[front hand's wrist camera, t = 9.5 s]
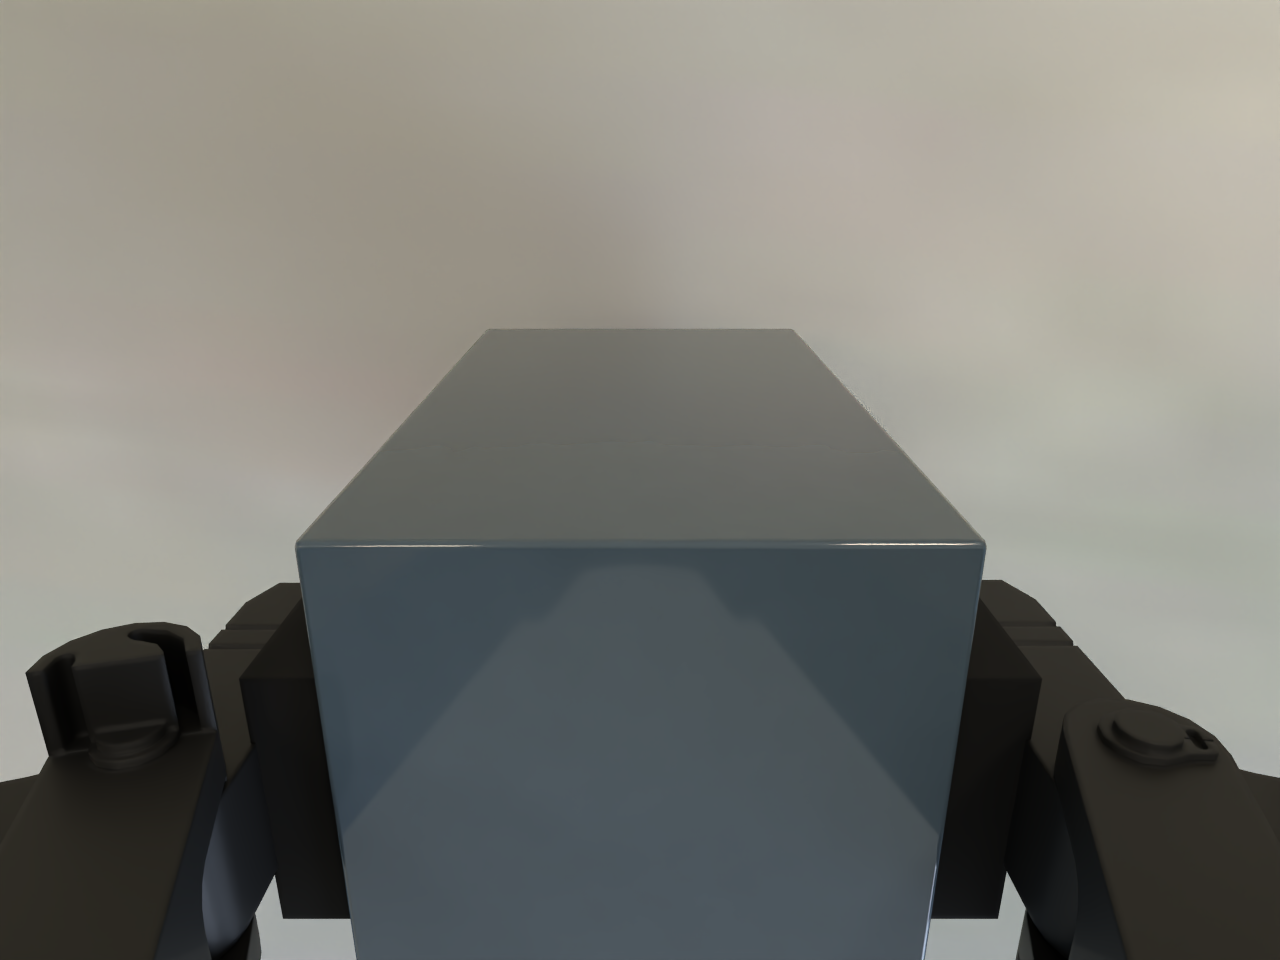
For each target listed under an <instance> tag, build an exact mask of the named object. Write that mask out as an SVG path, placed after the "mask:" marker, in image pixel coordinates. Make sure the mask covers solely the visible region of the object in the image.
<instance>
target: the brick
mask: <svg viewBox="0 0 1280 960" xmlns="http://www.w3.org/2000/svg"><path fill="white" fill-rule="evenodd" d="M986 547H987V546H986V543H985V540H984V539H983V538H982V537H981V536H980V535H979V534H978V533H977V531H976V530H975V529H974V528H973V527H972V526H971V525H970V524H969V523H968V522H967V520H966V519H965V518H964V517H963V516H962V515H961V514H960V513H959V512H958V510H957V509H956V508H955V507H954V506H953V505H952V504H951V503H950V502H949V501H948V499H947V498H946V497H945V496H944V495H943V494H942V493H941V492H940V491H939V490H938V488H937V487H936V486H935V485H934V484H933V483H932V482H931V481H930V480H929V479H928V477H927V476H926V475H925V474H924V473H923V472H922V471H921V470H920V469H919V468H918V466H917V465H916V464H915V463H914V462H913V461H912V460H911V459H910V458H909V457H908V455H907V454H906V453H905V452H904V451H903V450H902V449H901V448H900V447H899V446H898V444H897V443H896V442H895V441H894V440H893V439H892V438H891V437H890V436H889V434H888V433H887V432H886V431H885V430H884V429H883V428H882V427H881V426H880V425H879V423H878V422H877V421H876V420H875V419H874V418H873V417H872V416H871V415H870V414H869V412H868V411H867V410H866V409H865V408H864V407H863V406H862V405H861V404H860V403H859V401H858V400H857V399H856V398H855V397H854V396H853V395H852V394H851V393H850V392H849V390H848V389H847V388H846V387H845V386H844V385H843V384H842V383H841V382H840V381H839V379H838V378H837V377H836V376H835V375H834V374H833V373H832V372H831V371H830V370H829V368H828V367H827V366H826V365H825V364H824V363H823V362H822V361H821V360H820V358H819V357H818V356H817V355H816V354H815V353H814V352H813V351H812V350H811V349H810V347H809V346H808V345H807V344H806V343H805V342H804V341H803V340H802V339H801V338H800V336H799V335H798V334H797V333H796V332H795V331H794V330H792V329H488V330H487V331H486V332H485V333H484V334H483V335H482V336H481V337H480V338H479V339H478V341H477V342H476V343H475V344H474V345H473V346H472V347H471V348H470V349H469V350H468V352H467V353H466V354H465V355H464V356H463V357H462V358H461V359H460V360H459V362H458V363H457V364H456V365H455V366H454V367H453V368H452V369H451V370H450V371H449V373H448V374H447V375H446V376H445V377H444V378H443V379H442V380H441V381H440V383H439V384H438V385H437V386H436V387H435V388H434V389H433V390H432V391H431V393H430V394H429V395H428V396H427V397H426V398H425V399H424V400H423V401H422V402H421V404H420V405H419V406H418V407H417V408H416V409H415V410H414V411H413V412H412V414H411V415H410V416H409V417H408V418H407V419H406V420H405V421H404V422H403V423H402V425H401V426H400V427H399V428H398V429H397V430H396V431H395V432H394V433H393V435H392V436H391V437H390V438H389V439H388V440H387V441H386V442H385V443H384V444H383V446H382V447H381V448H380V449H379V450H378V451H377V452H376V453H375V454H374V456H373V457H372V458H371V459H370V460H369V461H368V462H367V463H366V464H365V466H364V467H363V468H362V469H361V470H360V471H359V472H358V473H357V474H356V475H355V477H354V478H353V479H352V480H351V481H350V482H349V483H348V484H347V485H346V487H345V488H344V489H343V490H342V491H341V492H340V493H339V494H338V495H337V496H336V498H335V499H334V500H333V501H332V502H331V503H330V504H329V505H328V506H327V508H326V509H325V510H324V511H323V512H322V513H321V514H320V515H319V516H318V518H317V519H316V520H315V521H314V522H313V523H312V524H311V525H310V526H309V527H308V529H307V530H306V531H305V532H304V533H303V534H302V535H301V536H300V537H299V539H298V540H297V541H296V544H295V552H296V558H297V565H298V572H299V578H300V585H301V592H302V598H303V605H304V612H305V618H306V625H307V632H308V638H309V645H310V652H311V658H312V665H313V672H314V678H315V685H316V692H317V698H318V705H319V712H320V718H321V725H322V732H323V738H324V745H325V752H326V758H327V765H328V772H329V778H330V785H331V792H332V798H333V805H334V812H335V818H336V825H337V832H338V838H339V845H340V852H341V858H342V865H343V872H344V878H345V885H346V892H347V898H348V905H349V912H350V918H351V925H352V932H353V938H354V945H355V952H356V958H357V960H925V953H926V947H927V940H928V933H929V927H930V920H931V913H932V907H933V900H934V893H935V887H936V880H937V873H938V867H939V860H940V854H941V847H942V840H943V834H944V827H945V820H946V814H947V807H948V800H949V794H950V787H951V780H952V774H953V767H954V760H955V754H956V747H957V741H958V734H959V727H960V721H961V714H962V707H963V701H964V694H965V687H966V681H967V674H968V667H969V661H970V654H971V648H972V641H973V634H974V628H975V621H976V614H977V608H978V601H979V594H980V588H981V581H982V574H983V568H984V561H985V554H986Z"/></svg>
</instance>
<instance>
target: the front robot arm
mask: <svg viewBox="0 0 1280 960" xmlns="http://www.w3.org/2000/svg"><path fill="white" fill-rule="evenodd" d="M26 677H27V680H28V684H29V687H30V691H31V694H32V698H33V701H34V705H35V709H36V712H37V716H38V719H39V723H40V726H41V730H42V733H43V737H44V740H45V744H46V748H47V751H48V755H49V757H48V759H47V761H46V762H45V764H44V766H43V768H42V770H41V772H40V773H39V774H37V775H33V776H30V777H25V778H20V779H15V780H10V781H4V782H0V960H260V959H261V945H260V937H259V930H258V925H257V920H256V915H255V912H256V910H257V908H258V906H259V904H260V902H261V900H262V898H263V896H264V894H265V892H266V890H267V889H268V887H269V885H270V883H271V881H272V879H273V877H274V875H275V877H276V883H277V888H278V894H279V899H280V904H281V910H282V915H283V919H351V918H350V912H349V905H348V898H347V892H346V885H345V878H344V872H343V865H342V858H341V852H340V845H339V838H338V832H337V825H336V818H335V812H334V805H333V798H332V792H331V785H330V778H329V772H328V765H327V758H326V752H325V745H324V738H323V732H322V725H321V718H320V712H319V705H318V698H317V692H316V685H315V678H314V672H313V665H312V658H311V652H310V645H309V638H308V632H307V625H306V618H305V612H304V605H303V598H302V592H301V585H300V583H279V584H277V585H275V586H274V587H272V588H270V589H268V590H267V591H265V592H263V593H261V594H260V595H258V596H256V597H254V598H253V599H251V600H249V601H248V602H246V603H245V604H244V605H243V606H242V607H241V609H240V610H239V611H238V612H237V613H236V614H235V615H234V616H233V618H232V619H231V620H230V621H229V622H228V623H227V624H226V629H225V630H221V631H220V632H219V633H218V634H217V636H216V637H215V638H214V639H213V640H212V641H211V642H210V643H209V648H208V649H204V650H203V648H202V643H201V638H200V636H199V635H198V634H197V633H195V632H194V631H193V630H191V629H190V628H189V627H187V626H182V625H177V624H172V623H167V622H152V623H133V624H128V625H123V626H118V627H113V628H108V629H103V630H100V631H97V632H94V633H91V634H89V635H86V636H83V637H80V638H77V639H75V640H72V641H69V642H68V643H66V644H64V645H62V646H60V647H58V648H57V649H55V650H53V651H51V652H49V653H48V654H46V655H44V656H43V657H41V658H40V659H39V660H38V661H37V662H36V663H35V664H34V665H33V666H32V667H31V668H30V669H29V670H28V671H27V672H26ZM1006 872H1008V874H1009V876H1010V878H1011V880H1012V882H1013V884H1014V886H1015V888H1016V890H1017V892H1018V894H1019V896H1020V898H1021V899H1022V901H1023V903H1024V905H1025V907H1026V910H1025V915H1024V920H1023V925H1022V930H1021V935H1020V940H1019V945H1018V950H1017V955H1016V960H1280V778H1277V777H1272V776H1267V775H1261V774H1256V773H1252V772H1248V771H1244V770H1240V769H1239V768H1238V766H1237V764H1236V763H1235V761H1234V759H1233V757H1232V755H1231V754H1230V753H1229V752H1228V751H1227V749H1226V748H1225V747H1224V746H1223V745H1222V744H1221V743H1220V741H1219V740H1218V739H1217V738H1216V737H1215V736H1214V735H1212V734H1211V733H1209V732H1208V731H1206V730H1205V729H1203V728H1202V727H1200V726H1199V725H1197V724H1196V723H1194V722H1193V721H1191V720H1189V719H1187V718H1185V717H1182V716H1180V715H1177V714H1175V713H1173V712H1170V711H1168V710H1165V709H1163V708H1161V707H1158V706H1153V705H1149V704H1145V703H1141V702H1136V701H1132V700H1128V699H1125V698H1124V697H1123V696H1122V695H1121V694H1120V693H1119V692H1118V691H1117V689H1116V688H1115V687H1114V686H1113V685H1112V684H1111V683H1110V682H1109V681H1108V679H1107V678H1106V677H1105V676H1104V675H1103V674H1102V673H1101V672H1100V671H1099V669H1098V668H1097V667H1096V666H1095V665H1094V664H1093V663H1092V662H1091V661H1090V659H1089V658H1088V657H1087V656H1086V655H1085V654H1084V653H1083V652H1082V651H1081V649H1080V648H1079V647H1078V646H1073V641H1072V639H1071V638H1070V637H1069V636H1068V635H1067V634H1066V633H1065V632H1064V631H1063V629H1062V628H1061V627H1056V622H1055V621H1054V619H1053V618H1052V617H1051V616H1050V615H1049V614H1048V613H1047V612H1046V611H1045V609H1044V608H1043V607H1042V606H1041V605H1040V604H1039V603H1038V602H1037V601H1036V599H1034V598H1032V597H1030V596H1029V595H1027V594H1025V593H1023V592H1022V591H1020V590H1018V589H1016V588H1015V587H1013V586H1011V585H1010V584H1008V583H1006V582H1004V581H1003V580H982V581H981V588H980V594H979V601H978V608H977V614H976V621H975V628H974V634H973V641H972V648H971V654H970V661H969V667H968V674H967V681H966V687H965V694H964V701H963V707H962V714H961V721H960V727H959V734H958V741H957V747H956V754H955V760H954V767H953V774H952V780H951V787H950V794H949V800H948V807H947V814H946V820H945V827H944V834H943V840H942V847H941V854H940V860H939V867H938V873H937V880H936V887H935V893H934V900H933V907H932V913H931V919H998V915H999V910H1000V904H1001V899H1002V893H1003V888H1004V883H1005V877H1006Z"/></svg>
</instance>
